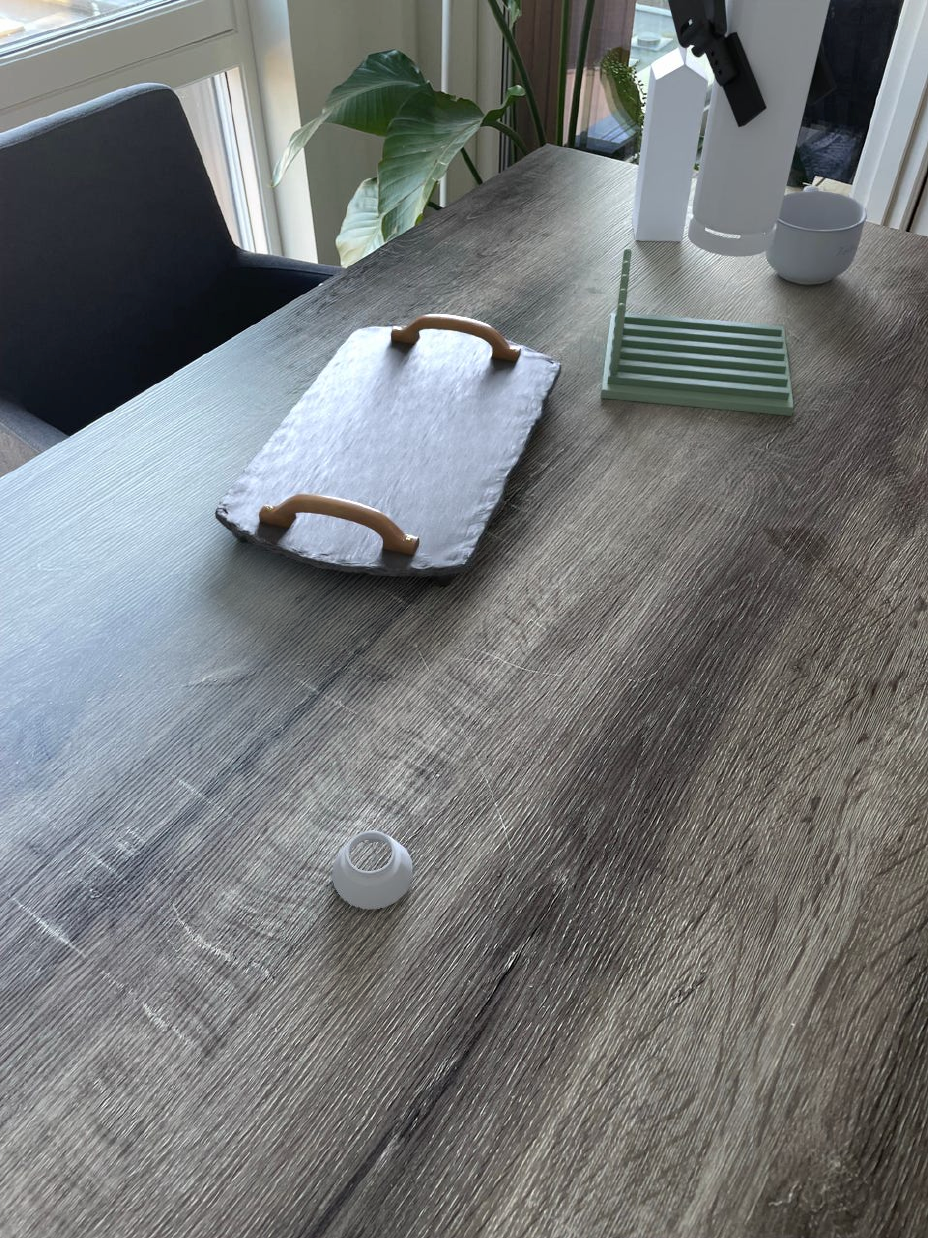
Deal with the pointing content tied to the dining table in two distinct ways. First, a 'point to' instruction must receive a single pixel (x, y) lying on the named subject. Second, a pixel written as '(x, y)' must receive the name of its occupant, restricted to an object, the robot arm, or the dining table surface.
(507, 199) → the dining table surface
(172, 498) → the dining table surface
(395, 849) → the grey flared ring
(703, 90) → the milk
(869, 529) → the dining table surface
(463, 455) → the serving tray
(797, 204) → the teacup
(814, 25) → the bottle
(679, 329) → the rack
